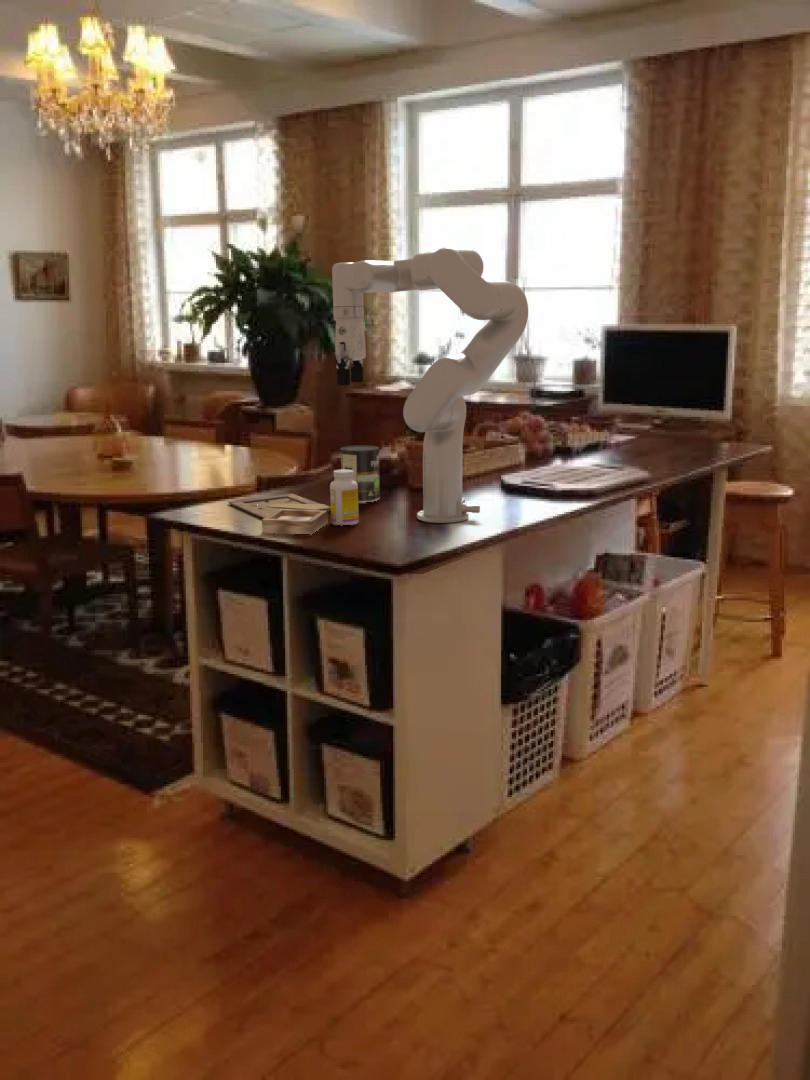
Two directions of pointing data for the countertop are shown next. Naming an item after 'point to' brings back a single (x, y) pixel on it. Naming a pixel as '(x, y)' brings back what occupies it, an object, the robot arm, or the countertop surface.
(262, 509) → the picture frame
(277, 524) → the stand
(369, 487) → the coffee can
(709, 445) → the countertop surface
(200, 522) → the countertop surface
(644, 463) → the countertop surface
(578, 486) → the countertop surface
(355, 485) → the supplement bottle
